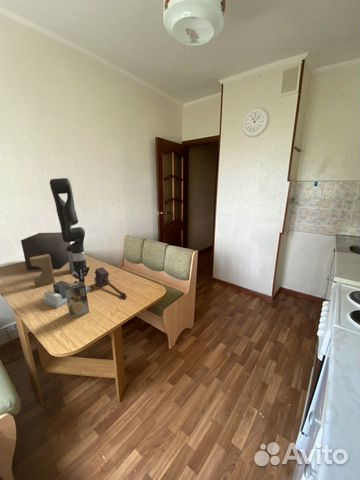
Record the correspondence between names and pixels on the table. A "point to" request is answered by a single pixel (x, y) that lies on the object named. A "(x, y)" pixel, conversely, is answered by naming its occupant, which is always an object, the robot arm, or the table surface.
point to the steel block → (60, 288)
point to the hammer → (105, 280)
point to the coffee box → (76, 299)
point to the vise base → (56, 298)
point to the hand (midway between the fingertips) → (82, 283)
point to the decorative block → (43, 270)
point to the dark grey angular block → (46, 249)
